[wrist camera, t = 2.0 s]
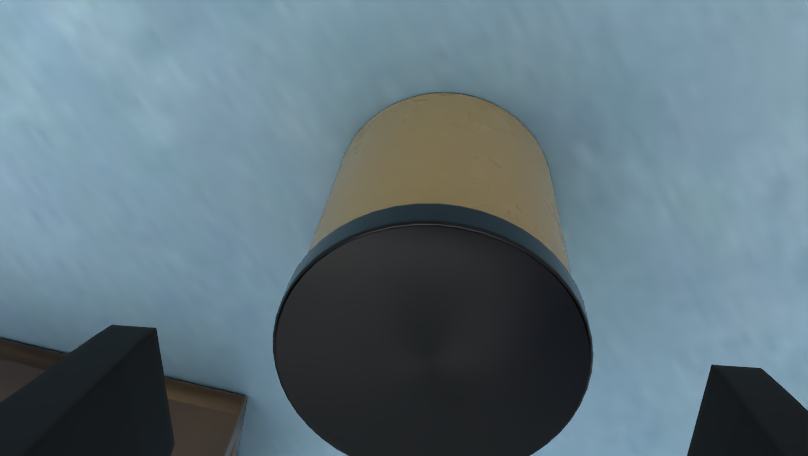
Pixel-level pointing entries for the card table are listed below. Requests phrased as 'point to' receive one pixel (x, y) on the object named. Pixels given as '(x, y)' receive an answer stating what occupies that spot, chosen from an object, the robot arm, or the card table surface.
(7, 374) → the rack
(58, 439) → the robot arm
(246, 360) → the card table surface
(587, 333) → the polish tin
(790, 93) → the card table surface
